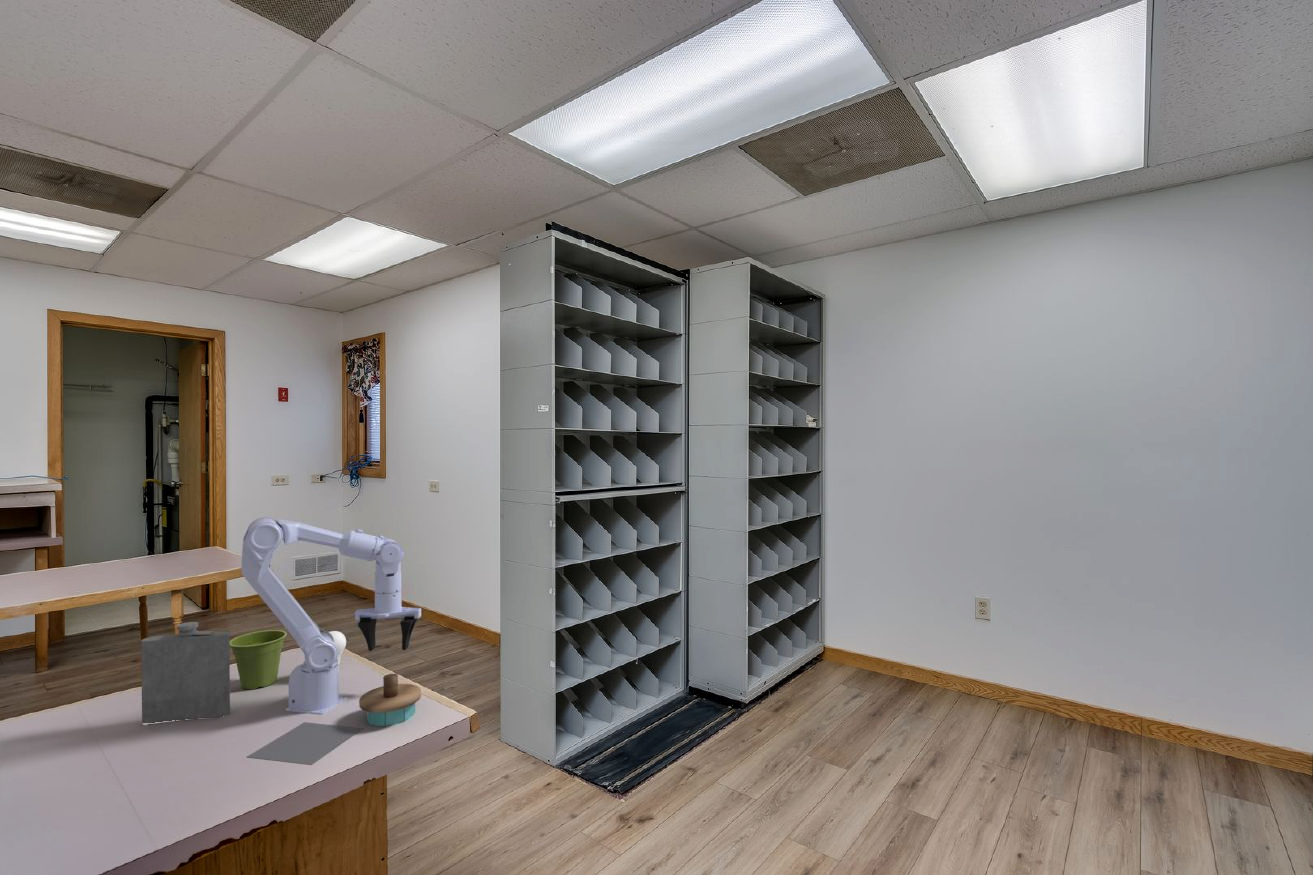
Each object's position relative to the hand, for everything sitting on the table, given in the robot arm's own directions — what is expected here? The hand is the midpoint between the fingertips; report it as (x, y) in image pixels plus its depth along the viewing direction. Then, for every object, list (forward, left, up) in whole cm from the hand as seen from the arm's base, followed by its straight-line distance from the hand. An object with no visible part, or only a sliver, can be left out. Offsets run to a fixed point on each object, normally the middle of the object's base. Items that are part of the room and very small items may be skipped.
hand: (388, 648), depth 143 cm
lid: (+9, -12, -6) cm, 16 cm away
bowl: (+9, -12, -10) cm, 18 cm away
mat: (0, -25, -10) cm, 27 cm away
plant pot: (-34, -2, -10) cm, 36 cm away
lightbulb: (-20, +6, -10) cm, 23 cm away
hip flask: (-34, -20, -10) cm, 41 cm away
